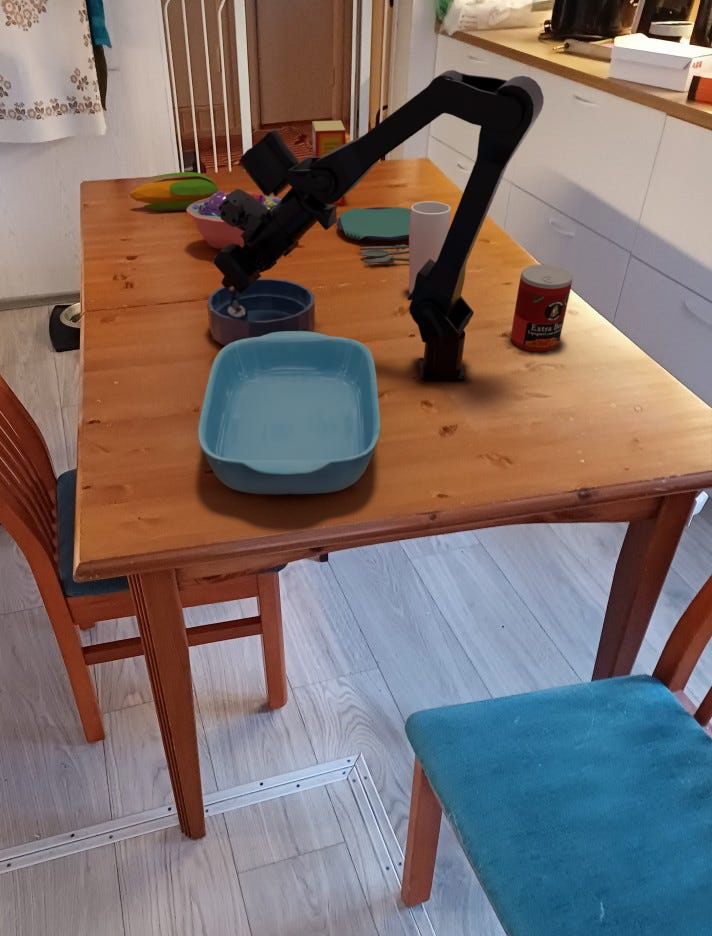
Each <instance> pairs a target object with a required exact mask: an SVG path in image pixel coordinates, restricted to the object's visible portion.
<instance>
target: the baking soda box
mask: <svg viewBox="0 0 712 936" xmlns="http://www.w3.org/2000/svg"><path fill="white" fill-rule="evenodd" d="M311 129H312V130H311V132H312V134H311V136H312V141H311V142H312V146H311V147H312V157H323V156H324V155H326V154H327V153H329V152H330V151H332V150H334V149H336V148H338V147H340V146H342V145H344V144H346V128H345V126H344V123H343V122H342V120H341V119H336V120H334V119H333V120H312V121H311ZM331 205H336V206H337V207H339V206H345V195H344V196H343V197H342V198H341V199H339V200H338V201H337V202H335V203H332V204H331Z"/></svg>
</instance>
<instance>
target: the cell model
mask: <svg viewBox="0 0 712 936" xmlns="http://www.w3.org/2000/svg"><path fill="white" fill-rule="evenodd" d="M229 193H230V192H224V191H223V190H218V192H216V193H214V194H213V195H212V196H211V197H210V198H207V199H203V200H200V201H197V202H195V203H193V204H191V205H190V206H189V207H188V208H187V210H186V212H187V214H188V215H189V217H190V218H191V219H192V221H193V223H194V225H195V226H196V228H197V229H198V232H199V233H200V234H201V236H202V237H203V238H204V240H205V241H206V243H207V244H208V246H210V247H212V248H215V249H217V250H220V251H221V250H222V249H224V248H225V247H227V246H228V245H229V244H231V243H232V244H239V245H240V246H241V248H242V247H244V240H243V238H242V237H241V236H240V235H241V234H242V233H243V232H244V231H243V230H240V229H239V228H237V227H236V226H235V227H232V226H230V225H229V224H227V223H226V222H224V221H223V220H222V219H221V218H220V211H219V209H218V207H219V205H221V204H222V203H223V201H224V200H225V197H226V195H228V194H229ZM247 193H248V194H249V195H251V196H252V197H254V198H255V199H257V200H258V201H260V202H261V203H262V204H263V205H264V206H265V207H266V208H268V209H270V208H271V207H272V206H273V205H276V204H277V203H278V202H279V201H280V200H281V199H282V198H283V197H279V196H276V197H275V196H274V195H269V196H267V195H264V194H263V193H256V192H247Z"/></svg>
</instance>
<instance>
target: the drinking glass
mask: <svg viewBox="0 0 712 936" xmlns="http://www.w3.org/2000/svg"><path fill="white" fill-rule="evenodd" d="M410 210H411V213H410V222H409V238H408V246H409V248H408V250H409V253H408V258H409V262H408V293H409V295H410V294H411V293H412V291H413V289H414V285H415V280H416V276H417V273H418V272H419V271H420V270H421V268H422V267H423V266H424V265H425V263H426V262H427V261H428V260H429V259H431V260H433V261H434V262H436V261H437V259H438V257H439V254H440V251H441V249H442V246H443V244H444V241H445V239H446V236H447V233H448V231H449V228H450V226H451V212H452V211H451V210H452V208H451V206H450V205H449V204H447V203H444V202H440V201H431V200H430V201H429V200H428V201H427V200H425V201H419V202H415V203H413V204H412V205H411V206H410Z"/></svg>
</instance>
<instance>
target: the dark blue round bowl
mask: <svg viewBox="0 0 712 936" xmlns="http://www.w3.org/2000/svg"><path fill="white" fill-rule="evenodd" d="M240 305H242V306H243V307H244V308H245V309H246V310H247V313H248V320H240V319H234V318H231V317H228V316H225V311H226V309H227V308H228V307H229V306H230V293H229V287H228V288H225V287H224V286H223V285H222V286H221V287H219V288H217V289H214V291H213V292H212V293H211V294H210V295H209V296H208V298H207V302H206V306H207V316H208V324H209V325H208V326H209V333H210V334H211V338H212V339H213V340H214V341H216V342H217V343H219V344H220V345H222V346H224V347H225V346H227V345H228V344H230V343H232V342H235V341H238V340H241V339H246V338H253V337H261V336H263V335H266V334H269V333H274V332H284V331H309V332H315V327H316V326H315V325H316V323H315V322H316V321H315V320H316V319H315V317H316V316H315V315H316V313H315V310H316V309H315V305H316V303H315V295H314V293H313V292H312V291H311V290H310V288H307V287H306V286H305V285H303V284H300V283H297V282H294V281H291V280H286V279H278V278H259V279H257V280H256V281H255V282H254V283H253V284H252V285H251V286H249V287H248V288H247V289H246V290H245V291H243V292H242V293H240Z"/></svg>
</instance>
